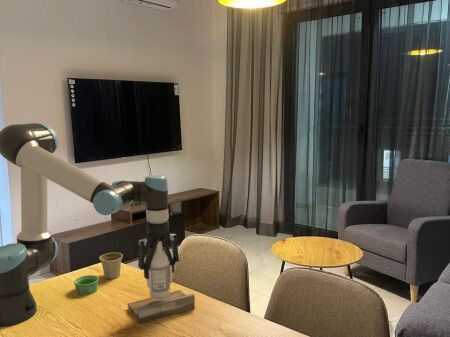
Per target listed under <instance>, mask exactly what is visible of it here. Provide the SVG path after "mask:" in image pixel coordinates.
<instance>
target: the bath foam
mask: <svg viewBox="0 0 450 337" xmlns="http://www.w3.org/2000/svg"><path fill="white" fill-rule="evenodd" d="M149 269H151V277H152V288H149V295H150V298H151V297H152V298H154V299H163V298H166V297H168V296H169V294H170V292H171V283H170V277H169V260H168V257H167V255H166V254H165V251H164V249H163V247H162V241H158V244H157V247H156V250H155V251H154V254H153V257H152V261H151V264H150V267H149Z"/></svg>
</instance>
